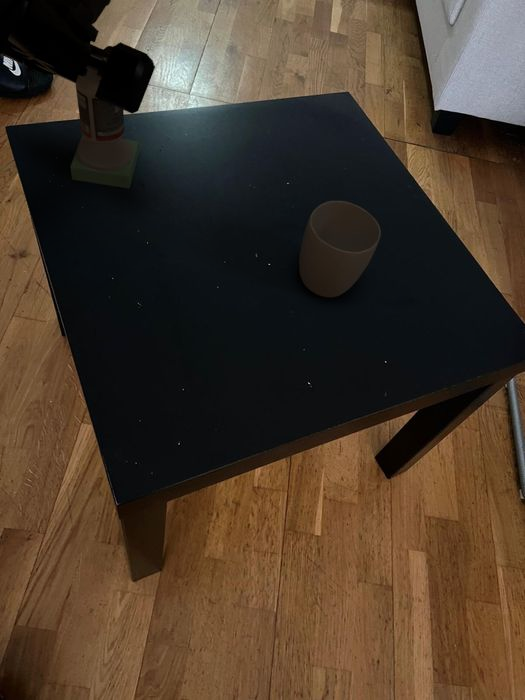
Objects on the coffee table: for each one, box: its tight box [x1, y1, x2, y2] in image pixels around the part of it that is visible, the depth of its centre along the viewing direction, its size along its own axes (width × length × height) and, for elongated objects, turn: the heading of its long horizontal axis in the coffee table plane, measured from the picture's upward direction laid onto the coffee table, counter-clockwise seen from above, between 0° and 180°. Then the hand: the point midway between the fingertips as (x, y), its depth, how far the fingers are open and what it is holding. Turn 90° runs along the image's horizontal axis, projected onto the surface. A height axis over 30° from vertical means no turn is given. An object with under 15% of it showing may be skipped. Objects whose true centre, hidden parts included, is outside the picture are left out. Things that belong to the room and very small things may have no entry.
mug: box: [298, 200, 381, 299], centre depth 70 cm, size 13×9×10 cm
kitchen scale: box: [69, 134, 140, 190], centre depth 77 cm, size 8×8×3 cm
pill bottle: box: [75, 55, 125, 144], centre depth 70 cm, size 6×6×10 cm
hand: (105, 82), depth 69 cm, fingers closed on pill bottle, 6 cm apart
